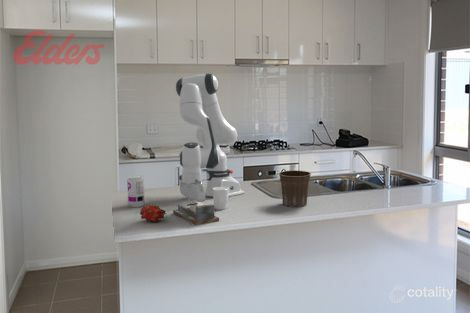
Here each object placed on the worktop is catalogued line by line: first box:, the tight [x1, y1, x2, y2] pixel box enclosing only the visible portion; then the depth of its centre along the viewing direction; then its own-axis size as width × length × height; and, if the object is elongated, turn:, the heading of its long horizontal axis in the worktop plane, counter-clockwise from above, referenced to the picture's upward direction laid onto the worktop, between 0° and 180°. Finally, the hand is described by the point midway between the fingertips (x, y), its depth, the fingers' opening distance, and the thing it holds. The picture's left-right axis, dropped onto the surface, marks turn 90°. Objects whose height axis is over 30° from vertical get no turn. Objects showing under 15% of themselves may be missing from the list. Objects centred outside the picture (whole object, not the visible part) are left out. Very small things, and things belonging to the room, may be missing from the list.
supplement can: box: [126, 175, 146, 208], centre depth 240 cm, size 8×8×15 cm
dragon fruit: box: [139, 204, 167, 223], centre depth 211 cm, size 8×8×12 cm
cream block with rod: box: [186, 201, 206, 213], centre depth 214 cm, size 8×6×6 cm
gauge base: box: [172, 203, 220, 226], centre depth 218 cm, size 12×24×8 cm, turn 30°
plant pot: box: [278, 169, 312, 207], centre depth 238 cm, size 16×16×16 cm
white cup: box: [213, 187, 230, 211], centre depth 233 cm, size 8×8×10 cm
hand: (192, 207), depth 219 cm, fingers closed
